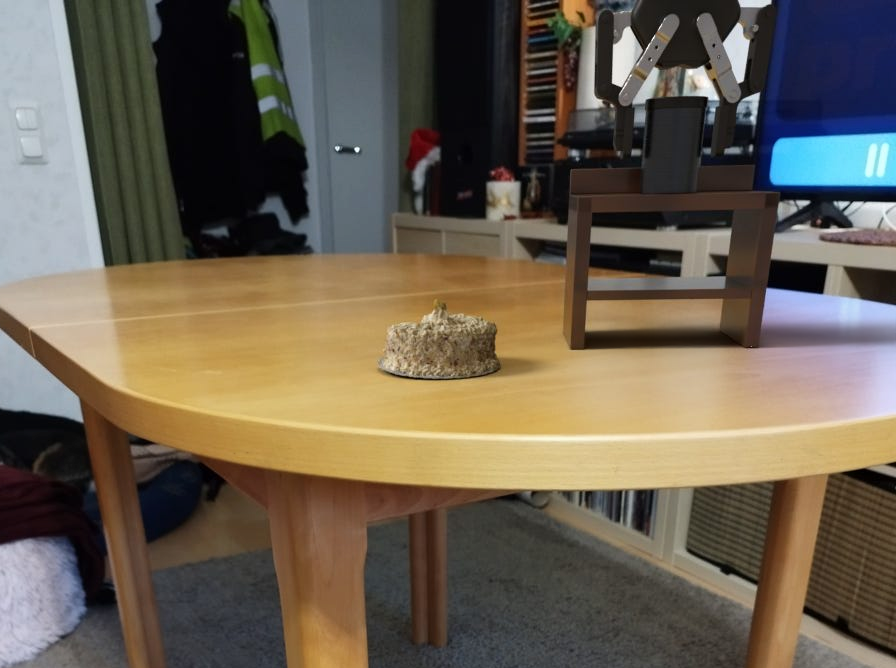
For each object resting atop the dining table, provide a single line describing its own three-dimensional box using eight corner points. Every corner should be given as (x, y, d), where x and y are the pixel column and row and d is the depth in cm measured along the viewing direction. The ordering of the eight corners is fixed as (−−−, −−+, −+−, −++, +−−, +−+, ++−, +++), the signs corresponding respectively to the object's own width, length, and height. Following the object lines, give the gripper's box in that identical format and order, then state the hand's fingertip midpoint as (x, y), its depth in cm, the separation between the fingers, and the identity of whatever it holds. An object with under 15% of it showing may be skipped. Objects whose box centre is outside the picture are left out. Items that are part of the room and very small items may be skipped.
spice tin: (692, 192, 81) (701, 99, 77) (703, 193, 76) (714, 95, 73) (634, 193, 81) (641, 101, 78) (642, 194, 77) (650, 96, 73)
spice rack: (731, 330, 88) (752, 165, 82) (758, 347, 79) (784, 164, 73) (562, 331, 89) (570, 169, 83) (570, 349, 80) (579, 168, 74)
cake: (515, 366, 77) (522, 298, 74) (476, 392, 68) (483, 316, 66) (405, 350, 80) (408, 284, 77) (355, 373, 71) (357, 301, 69)
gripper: (603, -96, 67) (589, 159, 75) (806, -106, 66) (770, 155, 74) (593, -72, 74) (581, 160, 81) (777, -80, 73) (747, 156, 80)
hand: (671, 157), depth 77 cm, fingers open, 7 cm apart
